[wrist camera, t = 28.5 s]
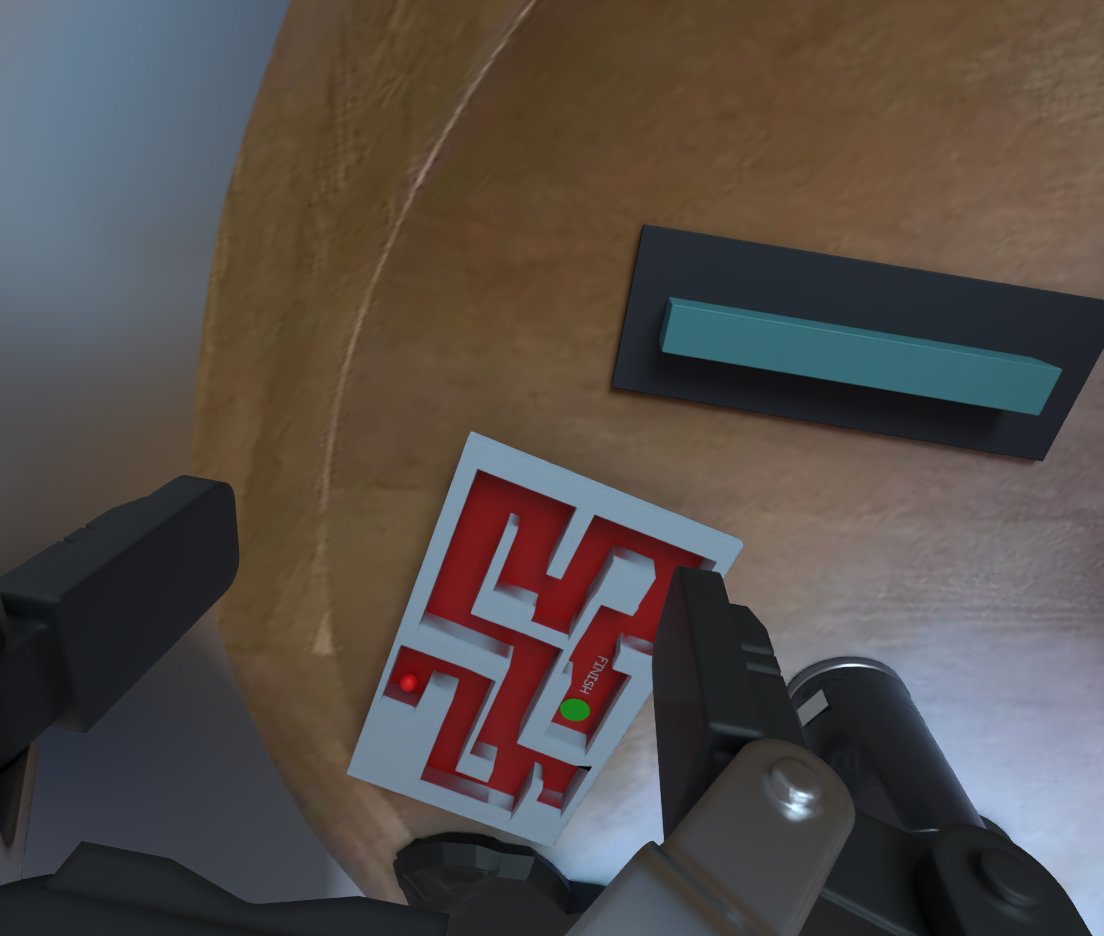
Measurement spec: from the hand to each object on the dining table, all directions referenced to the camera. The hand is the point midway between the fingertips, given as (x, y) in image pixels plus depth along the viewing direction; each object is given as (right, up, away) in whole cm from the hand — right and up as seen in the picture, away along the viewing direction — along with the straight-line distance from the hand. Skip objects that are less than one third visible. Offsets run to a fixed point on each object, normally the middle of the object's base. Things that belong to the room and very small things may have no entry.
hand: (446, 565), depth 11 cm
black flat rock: (-1, -42, +52) cm, 67 cm away
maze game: (0, -13, +39) cm, 41 cm away
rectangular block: (+20, +9, +26) cm, 34 cm away
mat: (+20, +9, +27) cm, 35 cm away
